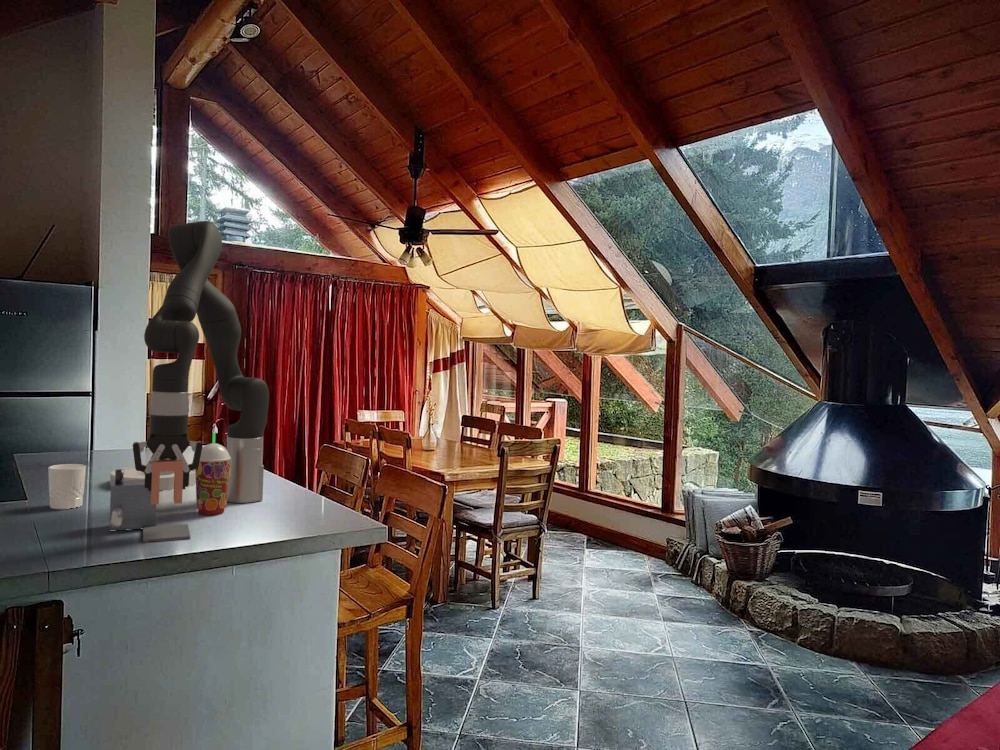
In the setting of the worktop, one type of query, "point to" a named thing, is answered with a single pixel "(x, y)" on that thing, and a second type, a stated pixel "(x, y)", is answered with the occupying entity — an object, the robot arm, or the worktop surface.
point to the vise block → (130, 504)
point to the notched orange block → (178, 478)
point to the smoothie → (212, 479)
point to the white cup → (66, 485)
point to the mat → (166, 532)
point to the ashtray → (165, 477)
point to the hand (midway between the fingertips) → (166, 489)
